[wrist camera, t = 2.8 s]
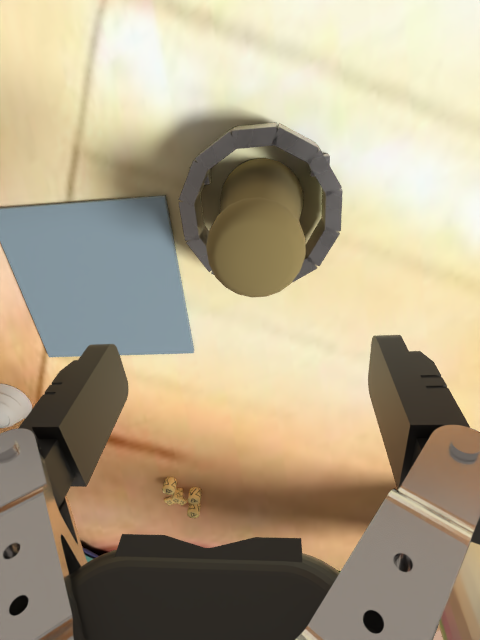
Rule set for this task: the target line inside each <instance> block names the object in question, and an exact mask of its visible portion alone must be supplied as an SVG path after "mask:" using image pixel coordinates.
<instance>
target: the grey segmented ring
mask: <svg viewBox="0 0 480 640" xmlns="http://www.w3.org/2000/svg"><path fill="white" fill-rule="evenodd" d="M273 145H274V146H276V147H278V148H280V149H282V150H284V151H286V152H288V153H290V154H292V155H294V156H296V157H297V158H299V159H301V160H303V161H305V162H307V163H308V164H309V166H310V175H311V176H315V177H316V178H317V180H318V182H319V183H320V185H321V187H322V212H321V219H320V221H319V223H318V225H317V226H316V228H315V230H314V231H313V233H312V235H311V236H310V238H309V240H308V242H307V243H306V245H305V248H306V255H305V258H304V261H303V264H302V267H301V270H300V272H299V273H298V274H297V276H296V277H295V279H294V280H293V281H292V282H294V281H296V280H298V279H299V278H301V277H303V276H305V275H306V274H308V273H310V272H312V271H313V270H315V269H317V266H320V264H321V263H322V261H323V260H324V258H325V256H326V255H327V253H328V252H329V250H330V248H331V247H332V245H333V244H334V242H335V240H336V239H337V237H338V236H339V234H340V233H339V231H341V211H342V189H341V188H342V187H341V185H340V184H339V182H338V180H337V178H336V176H335V175H334V173H333V171H332V169H331V167H330V166H329V163H330V156H329V154H328V153H327V154H323V153H322V151H321V150H320V148H319V146H318V145H317V144H316V143H315V142H314V141H312V140H310V139H308V138H306V137H305V136H303V135H301V134H299V133H297V132H295V131H293V130H291V129H289V128H288V127H286V126H284V125H282V124H280V123H279V125H278V127H277V125H276V123H265V124H255V125H244V126H236V127H235V128H232V129H230V130H229V131H228V132H227V133H225V134H224V135H223V136H221V137H220V138H219V139H218V140H216V141H215V142H214V143H213V144H211V145H210V146H209V147H207V148H206V149H205V150H204V151H202V152H201V153H200V154H199V155H198V156H197V157H196V158H195V160H194V161H193V163H192V165H191V167H190V171H189V174H188V176H187V179H186V182H185V184H184V187H183V190H182V192H181V195H180V198H179V200H180V201H179V208H180V213H181V219H182V225H183V231H184V237H185V241H186V240H188V241H187V242H186V243H187V245H188V246H189V247H190V248H191V250H192V251H193V252H194V253H195V255H196V256H197V257H198V259H199V260H200V261H201V262H202V264H203V265H204V266H205V267H206V269H207V270H208V271H209V272H210V271H212V269H211V267H210V265H209V261H208V255H207V249H206V245H207V239H208V233H209V230H208V229H207V228H206V226H205V223H204V216H203V209H202V202H201V195H200V194H201V192H202V189H203V187H204V185H207V184H210V183H211V173H210V169H211V168H212V167H213V166H214V165H216V164H217V163H218V162H220V161H221V160H222V159H224V158H225V157H226V156H228V155H229V154H230V153H231V152H233V151H234V150H235V149H239V148H250V147H261V146H273ZM211 274H213V275H214V273H213V271H212V273H211Z"/></svg>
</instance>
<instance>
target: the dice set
mask: <svg viewBox="0 0 480 640" xmlns="http://www.w3.org/2000/svg"><path fill="white" fill-rule="evenodd" d="M176 486H177V480H176V479H175V478H173V477H167V478H166V479H165V482H164V485H163V489H162V490H163V493H165V494H167V495H172V497H171V496H170V497H168V498H165V499H164V502H165V503H166V504H168V505H172V504H175V503H177V504H180V505H184V504H186V503H187V501H188V502H189V507H188V511H187V516H189V517H190V518H197V517H199V512H200V507H201V506H200V500H201V494H202V491H201V489H200V488H198V487H192V488H191V489H190V490H189V495H188V500H187V499H185V498H184V497H182V496H183V488H176Z"/></svg>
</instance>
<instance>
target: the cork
mask: <svg viewBox="0 0 480 640" xmlns="http://www.w3.org/2000/svg"><path fill="white" fill-rule="evenodd" d="M220 207H221V213H220V214H219V215H218V216H217V218H216V219H215V221H214V223H213V225H212V227H211V229H210V230H209V233H208V239H207V245H206V249H207V255H208V261H209V265H210V267H211V269H212V271H213V273H214V275H215V277H216V278H217V279H218V280H219V281H220V282H221V283H222V284H223V285H224V286H225V287H226V288H228V289H230V290H231V291H233V292H235V293H237V294H240V295H244V296H249V297H265V296H269V295H272V294H274V293H277V292H280V291H281V290H283V289H284V288H285V287H287V286H288V285H289V284H291V283H292V281H293V280H294V279H295V277H296V276H297V274H298V273H299V272H300V270H301V267H302V264H303V261H304V258H305V255H306V248H305V236H304V233H303V230H302V228H301V225H300V222H299V219H300V215H301V212H302V208H303V191H302V188H301V185H300V182H299V180H298V178H297V177H296V176H295V174H294V173H293V172H292V171H291V169H290V168H288V167H287V166H285V165H284V164H282V163H280V162H279V161H276V160H271V159H267V158H260V159H251V160H249V161H247V162H245V163H242V164H240V165H239V166H237V167H236V168H235V169H234V170H233V171H232V172H231V173H230V174H229V175H228V177H227V179H226V181H225V183H224V185H223V187H222V193H221V198H220Z"/></svg>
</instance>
